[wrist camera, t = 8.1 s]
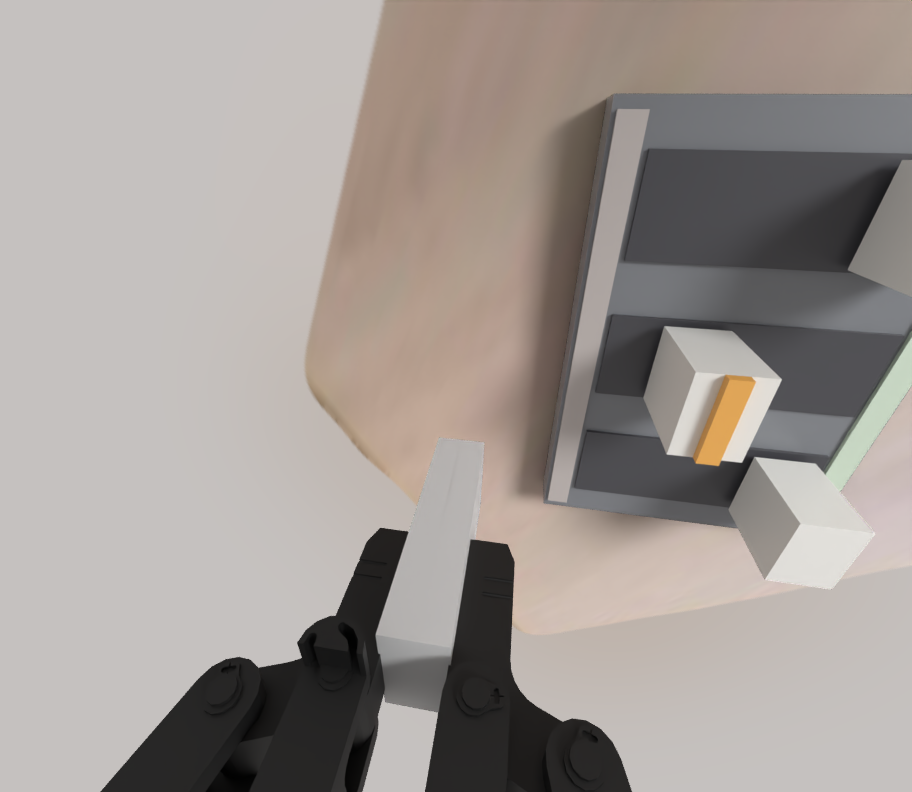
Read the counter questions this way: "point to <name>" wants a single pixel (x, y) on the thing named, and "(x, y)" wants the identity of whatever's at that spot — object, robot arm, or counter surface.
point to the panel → (731, 289)
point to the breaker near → (890, 237)
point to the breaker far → (797, 523)
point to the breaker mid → (708, 394)
